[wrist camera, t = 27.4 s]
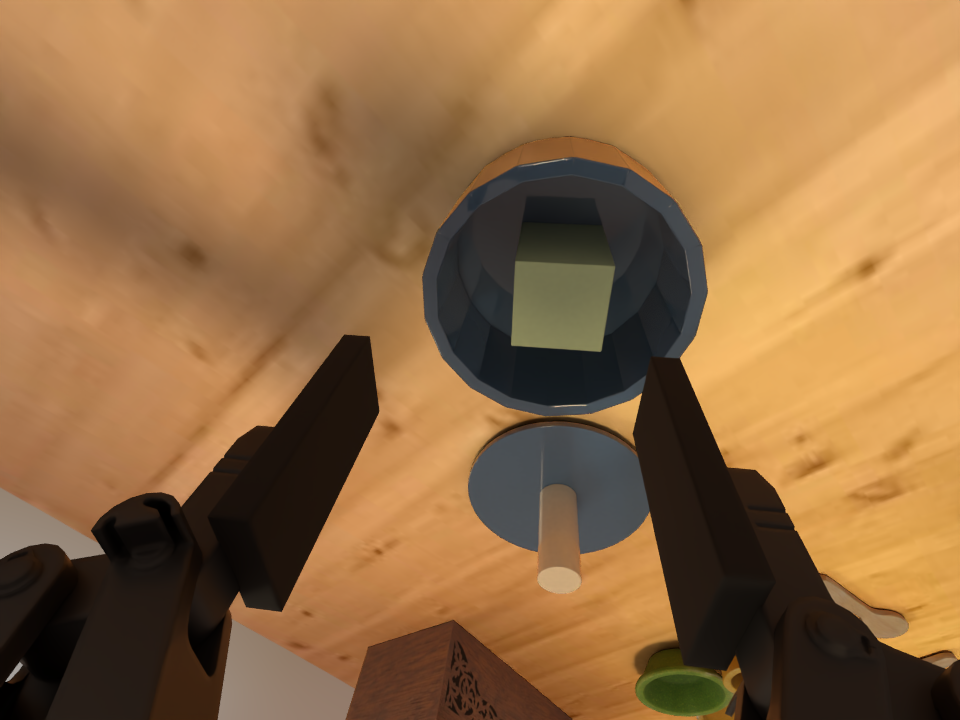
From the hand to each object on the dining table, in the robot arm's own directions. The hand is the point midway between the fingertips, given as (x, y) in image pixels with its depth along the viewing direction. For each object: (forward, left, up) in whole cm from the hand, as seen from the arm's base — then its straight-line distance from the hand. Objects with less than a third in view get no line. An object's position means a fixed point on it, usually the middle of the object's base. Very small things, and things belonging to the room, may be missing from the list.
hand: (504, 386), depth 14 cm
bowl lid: (+4, -24, -19) cm, 31 cm away
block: (+2, -3, -19) cm, 19 cm away
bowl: (+2, -3, -19) cm, 20 cm away
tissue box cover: (-4, -62, -20) cm, 65 cm away
